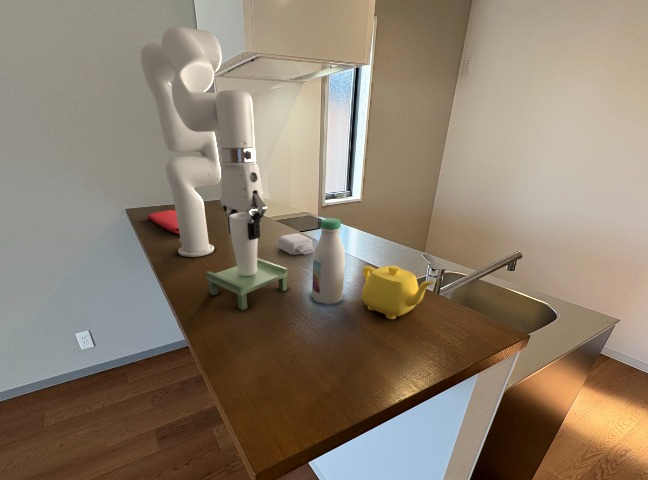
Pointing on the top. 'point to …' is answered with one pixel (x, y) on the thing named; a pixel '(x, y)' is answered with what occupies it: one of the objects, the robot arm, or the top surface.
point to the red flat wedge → (166, 220)
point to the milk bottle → (328, 264)
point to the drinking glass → (243, 245)
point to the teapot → (392, 290)
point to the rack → (248, 280)
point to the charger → (295, 244)
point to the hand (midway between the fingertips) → (244, 235)
